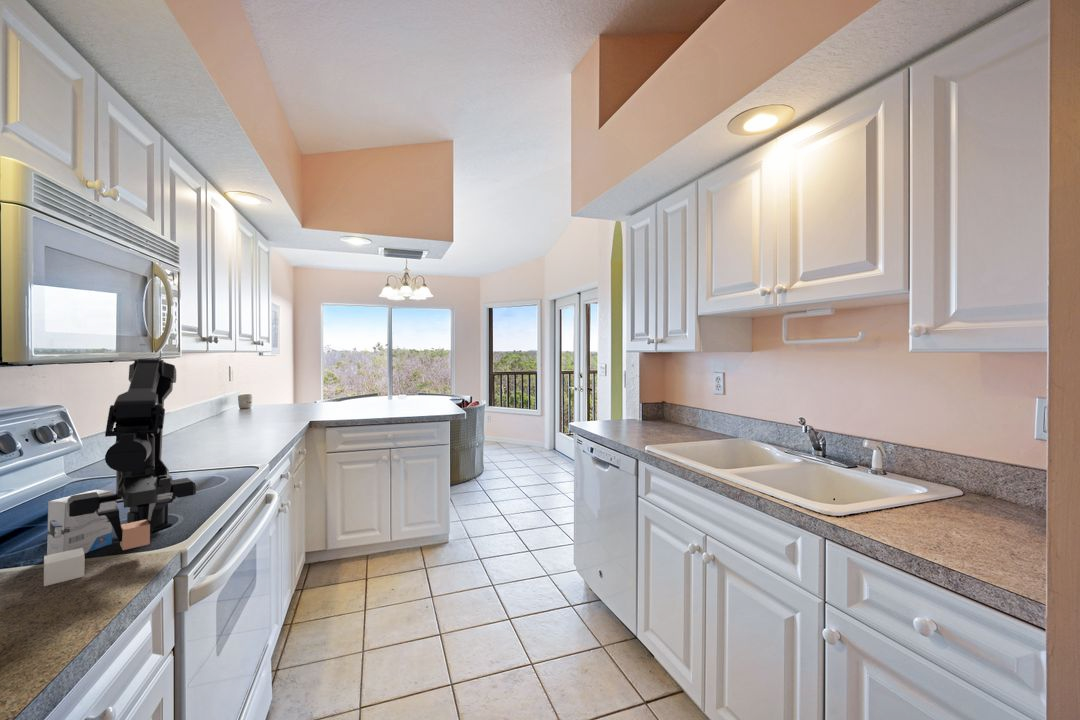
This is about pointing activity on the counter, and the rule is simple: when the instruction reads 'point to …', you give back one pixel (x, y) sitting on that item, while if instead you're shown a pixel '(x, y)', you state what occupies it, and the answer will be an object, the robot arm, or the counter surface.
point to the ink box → (76, 528)
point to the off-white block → (63, 566)
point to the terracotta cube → (135, 534)
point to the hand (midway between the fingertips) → (134, 538)
